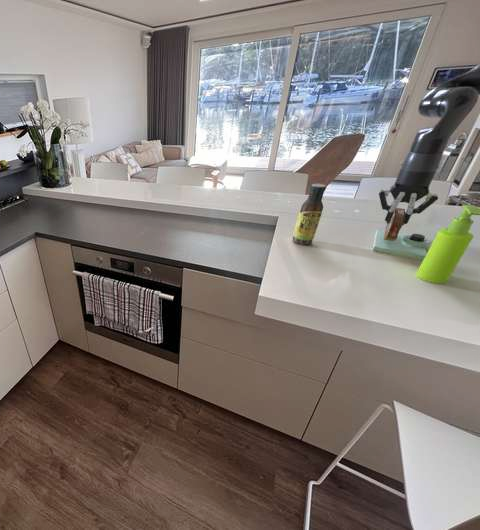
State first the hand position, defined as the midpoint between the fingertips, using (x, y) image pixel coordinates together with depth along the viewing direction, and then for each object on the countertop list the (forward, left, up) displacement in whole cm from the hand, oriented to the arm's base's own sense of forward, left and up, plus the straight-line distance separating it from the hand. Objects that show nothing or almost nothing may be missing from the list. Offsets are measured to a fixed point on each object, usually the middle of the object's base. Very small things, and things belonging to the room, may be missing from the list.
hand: (394, 223), depth 91 cm
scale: (-3, 0, -7) cm, 8 cm away
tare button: (-6, 0, -4) cm, 8 cm away
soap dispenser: (-10, +19, -7) cm, 23 cm away
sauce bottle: (+22, +12, -7) cm, 26 cm away
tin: (0, 0, -5) cm, 5 cm away
